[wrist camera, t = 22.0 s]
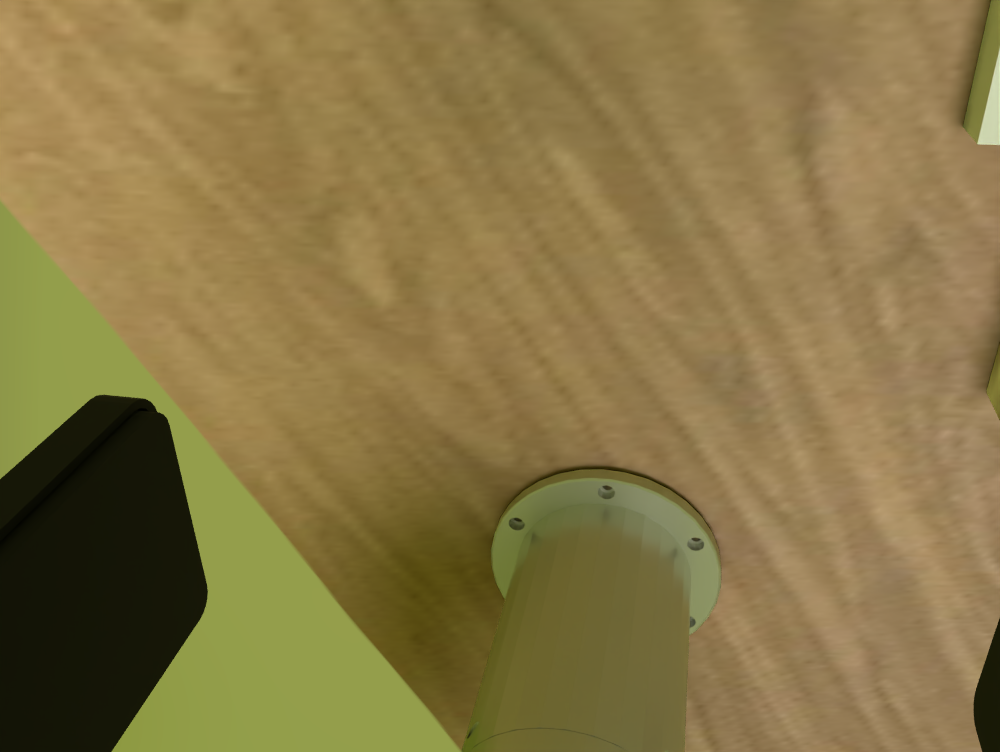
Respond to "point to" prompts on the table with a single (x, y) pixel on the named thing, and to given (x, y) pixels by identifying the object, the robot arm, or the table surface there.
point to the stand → (995, 384)
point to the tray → (986, 85)
